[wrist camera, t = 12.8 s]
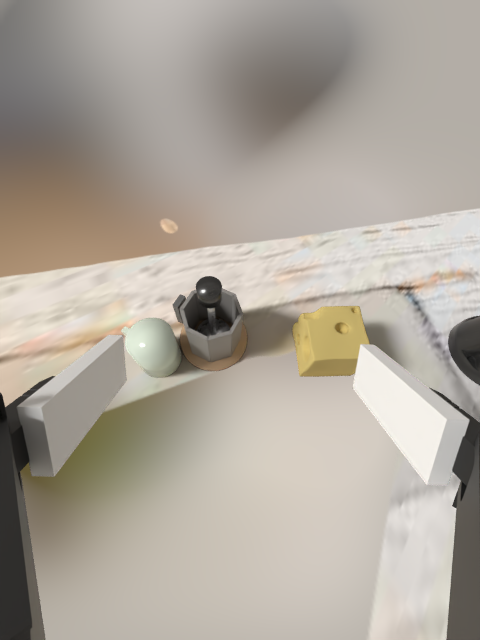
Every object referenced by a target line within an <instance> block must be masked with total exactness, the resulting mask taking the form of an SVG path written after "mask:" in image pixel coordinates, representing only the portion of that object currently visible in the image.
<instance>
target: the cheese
mask: <svg viewBox="0 0 480 640" xmlns="http://www.w3.org/2000/svg"><path fill="white" fill-rule="evenodd" d="M292 332H293V337H294V341H295V346H296V353H297V361H298V368H299V375H300V376H350V375H352V374H354V373H355V372H356V367H357V361H358V356H359V350H360V345H361V344H370V342H369V339H368V337H367V334H366V330H365V327H364V324H363V320H362V315H361V311H360V307H359V306H334V307H321V308H320V309H318V310H317V311H316V312H313V313H303V314H301V315H300V316H299V318H298V322H296V323H295V324H294V325H293V329H292Z"/></svg>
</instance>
